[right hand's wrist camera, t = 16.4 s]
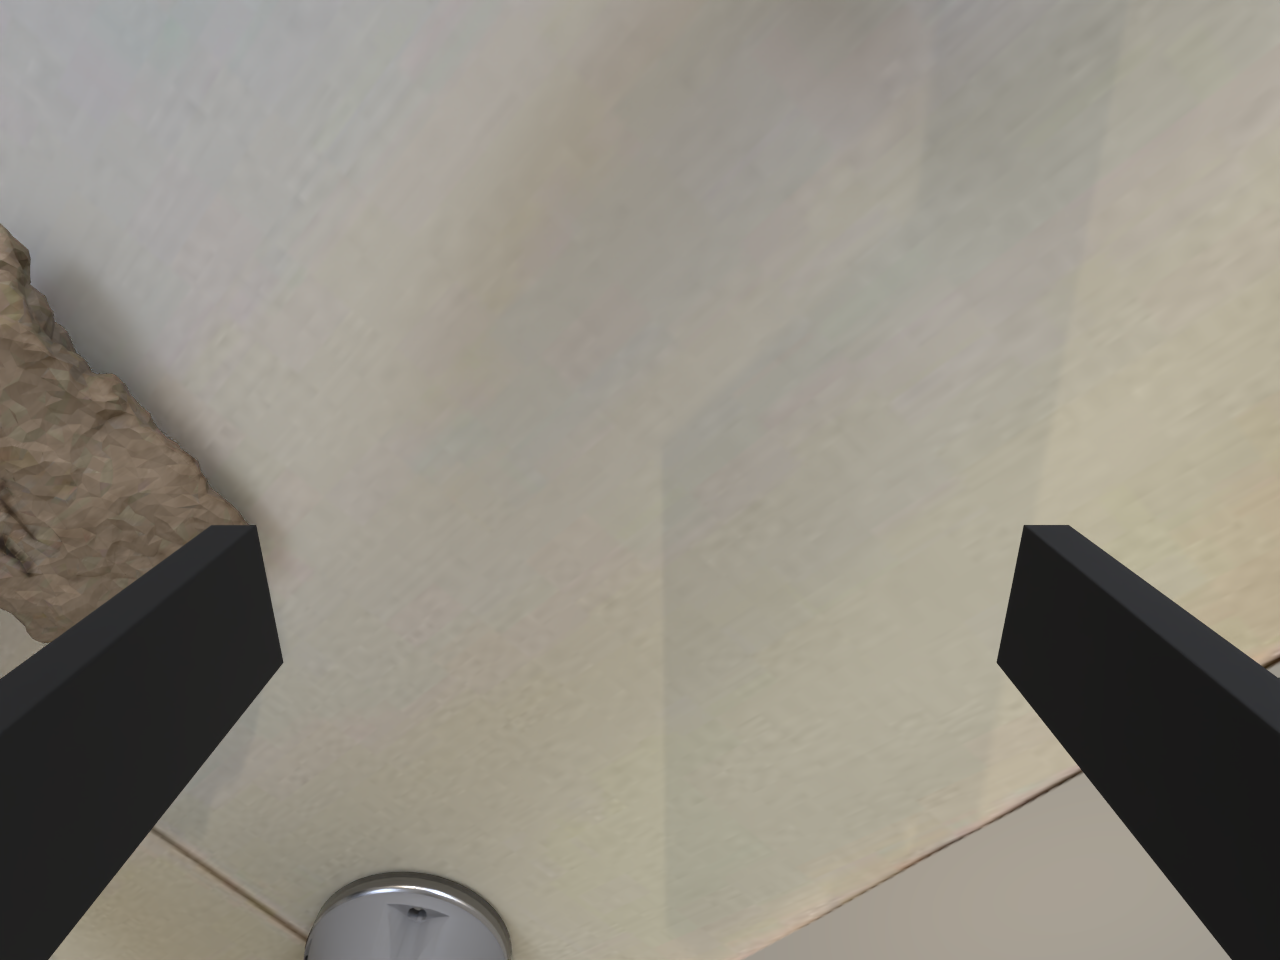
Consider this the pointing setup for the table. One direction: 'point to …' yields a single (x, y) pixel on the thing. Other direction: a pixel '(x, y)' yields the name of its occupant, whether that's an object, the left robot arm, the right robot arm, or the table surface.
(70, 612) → the stone
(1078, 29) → the table surface
